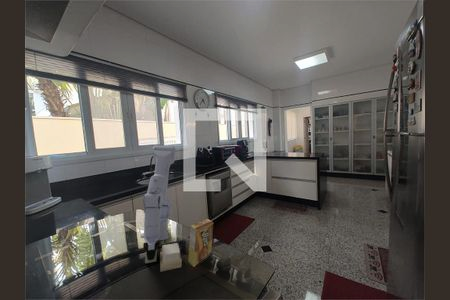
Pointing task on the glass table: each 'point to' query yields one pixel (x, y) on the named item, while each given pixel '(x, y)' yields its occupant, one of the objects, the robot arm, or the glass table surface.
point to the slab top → (170, 252)
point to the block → (150, 260)
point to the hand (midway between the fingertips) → (151, 255)
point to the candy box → (200, 241)
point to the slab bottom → (170, 264)
